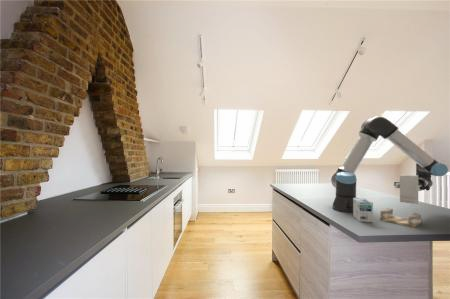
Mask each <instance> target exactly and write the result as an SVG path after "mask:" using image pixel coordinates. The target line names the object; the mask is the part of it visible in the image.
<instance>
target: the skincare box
mask: <svg viewBox="0 0 450 299" xmlns="http://www.w3.org/2000/svg"><path fill="white" fill-rule="evenodd" d="M399 182H400V188H399V203H405V204H414V205H415V204H416V205H418V204H419V191H416V186H418V175H416V174H400V175H399Z"/></svg>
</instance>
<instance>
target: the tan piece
mask: <svg viewBox="0 0 450 299" xmlns="http://www.w3.org/2000/svg"><path fill="white" fill-rule="evenodd" d="M393 212H394V209H393V208H390V207H386V208H384V209H382V210H380V217H379V220H380V221H383V222H388V223H392V224H398V225H400V226H406V227H409V228H416V227H417V226H419V225H420V224H422V221H421V219H422V218H421V216H422V215H421V213H417V212H413V213H412V214H410V215H408V218H407V217H403V216H402V217H401V216H397V215H394V213H393Z"/></svg>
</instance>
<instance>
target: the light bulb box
mask: <svg viewBox="0 0 450 299" xmlns="http://www.w3.org/2000/svg"><path fill="white" fill-rule="evenodd" d="M373 206H374V203H373V202H372V201H370V200H368V199H367V198H358V197H356V198H353V212H352V213H353V214H352V217H353V218H355V220H357V221H358V222H360V223H361V222H363V223H373V222H374V221H373V220H374V217H373V216H374V215H373V214H374V210H373V209H374V208H373Z"/></svg>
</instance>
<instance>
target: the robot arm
mask: <svg viewBox="0 0 450 299" xmlns="http://www.w3.org/2000/svg"><path fill="white" fill-rule="evenodd" d="M358 136H359V137H358V139H357V140H356V142H355V144H353V147H352V148H351V150H350V152H349V154H348V156H347V157H346V159H345V161H344V163H343V164H342V166H340V167H337V170H336V171H335V173H333V175H332V176H331V180H330V181H331V184H332V187H334V188H335V197H334V200H333V203H332V209H333V210H334V211H338V212H345V213H353V198H357V180H358V179H357V175H356V171H357V169H358V167H359V165H360V164H361V162H362V160H363V159H364V157H365V155H366V154H367V152H368V151H369V149H370V147H371V145H372V144H373V143H374V142H377V140H378V139H379V137H382V138H383V139H384V140H387V141H389V142H390V143H391V144H393V145H394V146H395V147H396V148H398V149H399V150H400V151H401V152H403V154H405V155H406V156H408V158H409V159H411V160H412V161H414V162H415V175H418V186H416V191H418V192H420V191H425V190H426V192H427V191H429V190H431V187H432V186H433V184H434V182H433V180H432V176H435V177H443V176H445V175H447V174H448V172H449V168H448V166H447V164H445V163H441V162H438V161H437V160H436V159H435V158H433V157H432V156H431V155H429V154H428V153H427V152H426V151H424V149H422V148H421V147H419V145H417V144H416V143H415V142H413V141H412V140H411V139H410V138H408V136H406V135H405V134H404V133H402V131H400V130H399V127H398V125H395V124H394V123H392V121H390V120H389V119H387V117H383V116H380V115H379V116H378V115H377V116H374V117H372V118H368V119H366V120H365V121H364V122H363V123H362V124H361V125H360V130H359V131H358ZM393 185H394V188H395V189H400V181H394V184H393Z"/></svg>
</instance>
